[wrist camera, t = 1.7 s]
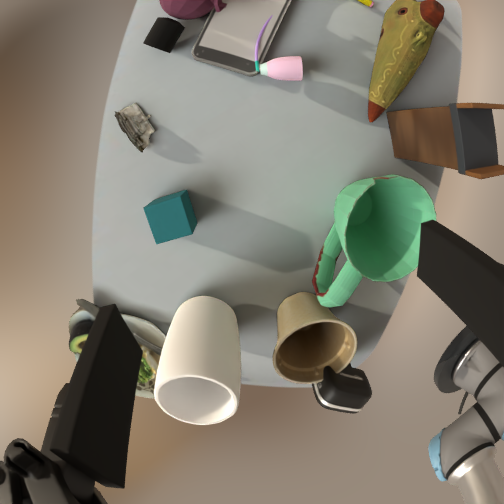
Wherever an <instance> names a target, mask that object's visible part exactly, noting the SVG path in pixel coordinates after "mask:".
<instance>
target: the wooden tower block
mask: <svg viewBox="0 0 504 504" xmlns="http://www.w3.org/2000/svg"><path fill="white" fill-rule="evenodd" d="M386 114H387V118H388V123H389V128H390V133H391V138H392V144H393V150H394V156H395V158H401V159H407V160H412V161H418V162H423V163H428V164H433V165H437V166H442V167H447V168H451V169H455V170H458V162H457V153H456V145H455V137H454V130H453V124H452V118H451V113H450V108H449V106H446V107H431V108H420V109H409V110H400V111H392V112H386Z"/></svg>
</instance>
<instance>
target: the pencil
mask: <svg viewBox="0 0 504 504" xmlns="http://www.w3.org/2000/svg"><path fill="white" fill-rule="evenodd" d="M358 1H359V2H361V3H363V4H365V5H367V6H369V7H370V8H371V7H372V6H373V4H374V2H373V1H371V0H358Z"/></svg>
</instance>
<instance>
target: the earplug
mask: <svg viewBox="0 0 504 504" xmlns="http://www.w3.org/2000/svg"><path fill="white" fill-rule="evenodd" d="M272 16H273V15H272ZM272 16H271V17H270V18H269V19H268V20H267V21H266V23H265V24H264V26H263V27H262V29H261V31H260V34H259V36H258V39H257V43H256V48H255V65H256V72H259V70H260V71H261V75H265V76H269V77H271V78H274V79H278V80H287V81H302V78H303V65H302V59H301V57H300V56H288V57H279V58H275V59H273V60H270V61H268V62H266V63H263V64H260V69H259V61H258V48H259V43H260V39H261V36H262V34H263V32H264V30H265V28H266V26H267V24H268V23H269V21H270V19H271V18H272Z"/></svg>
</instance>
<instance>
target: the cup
mask: <svg viewBox="0 0 504 504" xmlns="http://www.w3.org/2000/svg"><path fill="white" fill-rule="evenodd" d="M240 385H241V352H240V340H239V331H238V324H237V319H236V315H235V313H234V311H233V309H232V308H231V307H230V306H229V305H228V304H226V303H225V302H223V301H221V300H220V299H217V298H214V297H209V296H198V297H194V298H191V299H189V300H187V301H185V302H184V303H183V304H181V306H180V307H179V308H178V309H177V311H176V313H175V315H174V318H173V320H172V323H171V325H170V328H169V330H168V333H167V336H166V339H165V342H164V345H163V348H162V352H161V356H160V360H159V365H158V369H157V374H156V381H155V388H154V396H155V400H156V402H157V403H158V405H159V406H160V408H161V409H162V410H163V411H164V412H165V413H167V414H168V415H170V416H171V417H173V418H175V419H178V420H180V421H183V422H187V423H191V424H198V425H207V424H214V423H219V422H221V421H224V420H226V419H228V418H229V417H231V416H232V415H233V414H235V412H236V410H237V408H238V404H239V396H240Z"/></svg>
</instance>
